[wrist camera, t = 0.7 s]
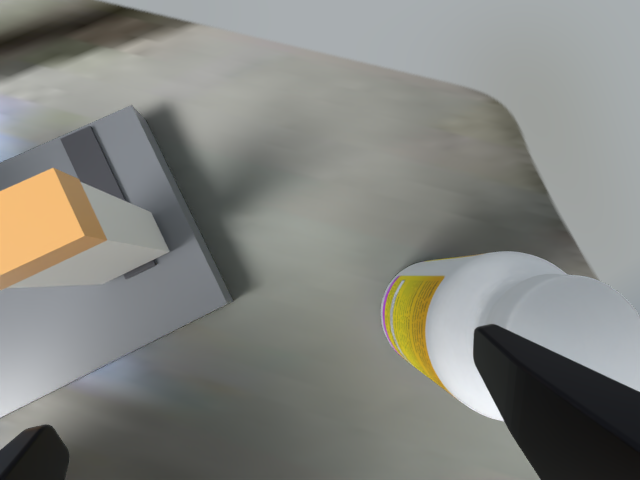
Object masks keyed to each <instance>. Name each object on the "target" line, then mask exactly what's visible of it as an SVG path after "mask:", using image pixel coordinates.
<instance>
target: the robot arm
mask: <svg viewBox="0 0 640 480" xmlns="http://www.w3.org/2000/svg"><path fill="white" fill-rule="evenodd" d="M473 359H474V363H475V366H476V368H477V370H478V372H479V374H480V376H481V377H482V379H483V381H484V383H485V385H486V387H487V389H488V391H489V393H490V395H491V397H492V399H493V401H494V403H495V404H496V406H497V408H498V410H499V412H500V414H501V416H502V418H503V420H504V422H505V424H506V425H507V427H508V429H509V431H510V433H511V434H512V436H513V437H514V439H515V441H516V442H517V444H518V445H519V447H520V448H521V450H522V452H523V453H524V455H525V456H526V458H527V459H528V461H529V462H530V464H531V465H532V467H533V468H534V470H535V471H536V473H537V474H538V476H539V478H540V479H541V480H640V392H639V391H637V390H635V389H633V388H631V387H628V386H626V385H624V384H622V383H620V382H618V381H616V380H613V379H611V378H609V377H607V376H605V375H603V374H601V373H599V372H596V371H594V370H592V369H590V368H588V367H586V366H584V365H581V364H579V363H577V362H575V361H573V360H571V359H569V358H567V357H564V356H562V355H560V354H558V353H556V352H554V351H552V350H549V349H547V348H545V347H543V346H541V345H539V344H537V343H535V342H532V341H530V340H528V339H526V338H524V337H522V336H520V335H517V334H515V333H513V332H511V331H509V330H507V329H505V328H503V327H500V326H498V325H496V324H488V325H483V326H479V327H477V328H475V330H474V340H473ZM68 464H69V452H68V449H67V447H66V446H65V444H64V443H63V441H62V440H61V438H60V437H59V435H58V434H57V432H56V431H55V429H54V428H53V427H52V426H50V425H41V426H36V427H32V428H28V429H26V430H24V431H23V432H21V433H20V434H19V435H18V436H17V437H15V438H14V439H13V440H12V441H11V442H9V443H8V444H7V445H6V446H5V447H4V448H2V449H1V450H0V480H65V476H66V472H67V468H68Z"/></svg>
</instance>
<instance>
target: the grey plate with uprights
mask: <svg viewBox="0 0 640 480" xmlns="http://www.w3.org/2000/svg"><path fill="white" fill-rule="evenodd" d="M51 168H55V169H57V170H60V171H62V172H64V173H66V174H69V175H71V176H73V177H76V178H78V179H79V180H80V182H82V183H85V184H87V185H89V186H92V187H94V188H96V189H99V190H101V191H103V192H105V193H108V194H110V195H112V196H115V197H117V198H119V199H122V200H124V201H126V202H129V203H131V204H133V205H136V206H138V207H140V208H142V209H145V210H147V211H149V212H151V213H152V215H153V217H154V220H155V222H156V224H157V226H158V228H159V230H160V232H161V234H162V236H163V238H164V241H165V243H166V245H167V247H168V249H169V251H170V252H168V253H166V254H164V255H162V256H160V257H158V258H156V259H154V260H152V261H150V262H148V263H146V264H143V265H141V266H139V267H137V268H135V269H133V270H131V271H129V272H127V273H125V274H123V275H121V276H119V277H117V278H114V279H112V280H110V281H108V282H106V283H104V284H98V285H73V286H48V287H22V288H5V289H3V290H0V418H2V417H4V416H6V415H8V414H10V413H12V412H14V411H16V410H18V409H20V408H22V407H24V406H26V405H28V404H30V403H32V402H34V401H36V400H38V399H40V398H42V397H44V396H46V395H48V394H50V393H52V392H54V391H56V390H58V389H60V388H62V387H64V386H66V385H68V384H70V383H72V382H74V381H76V380H78V379H80V378H82V377H84V376H86V375H88V374H90V373H92V372H94V371H96V370H98V369H100V368H102V367H103V366H105V365H107V364H109V363H111V362H113V361H115V360H117V359H119V358H121V357H123V356H125V355H127V354H129V353H131V352H133V351H135V350H137V349H139V348H141V347H143V346H145V345H147V344H149V343H151V342H153V341H155V340H157V339H159V338H161V337H163V336H165V335H167V334H169V333H171V332H173V331H175V330H177V329H179V328H181V327H183V326H185V325H187V324H189V323H191V322H193V321H195V320H197V319H199V318H201V317H203V316H205V315H207V314H209V313H211V312H213V311H215V310H217V309H219V308H221V307H223V306H225V305H227V304H229V303H231V302H233V299H232V297H231V295H230V293H229V291H228V289H227V287H226V285H225V283H224V281H223V279H222V277H221V275H220V273H219V270H218V268H217V266H216V264H215V262H214V260H213V258H212V256H211V254H210V252H209V250H208V248H207V246H206V244H205V241H204V239H203V237H202V235H201V233H200V231H199V229H198V227H197V225H196V223H195V221H194V219H193V217H192V215H191V213H190V210H189V208H188V206H187V204H186V202H185V200H184V198H183V196H182V194H181V192H180V190H179V188H178V186H177V184H176V182H175V179H174V177H173V175H172V173H171V171H170V169H169V167H168V165H167V163H166V161H165V159H164V157H163V155H162V153H161V151H160V148H159V146H158V144H157V142H156V140H155V138H154V136H153V134H152V132H151V130H150V128H149V126H148V124H147V122H146V120H145V118H144V117H143V116H142V115H141V114H140V113H139V112H138V111H137V110H136V109H135V108H134V107H133V106H132V105H131V106H128V107H126V108H124V109H122V110H119V111H117V112H115V113H112V114H110V115H108V116H106V117H103V118H101V119H99V120H96V121H94V122H92V123H90V124H87V125H85V126H83V127H81V128H78V129H76V130H74V131H71V132H69V133H67V134H65V135H62V136H60V137H58V138H56V139H53V140H51V141H49V142H46V143H44V144H42V145H40V146H37V147H35V148H33V149H31V150H28V151H26V152H24V153H21V154H19V155H17V156H15V157H12V158H10V159H8V160H5V161H3V162H1V163H0V191H2V190H4V189H6V188H9V187H11V186H13V185H15V184H18V183H20V182H22V181H24V180H27V179H29V178H31V177H33V176H36V175H38V174H40V173H42V172H45V171H47V170H49V169H51Z"/></svg>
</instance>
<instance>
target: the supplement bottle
mask: <svg viewBox="0 0 640 480" xmlns="http://www.w3.org/2000/svg"><path fill="white" fill-rule="evenodd" d="M381 322H382V327H383V330H384V333H385V336H386V338H387V340H388V341H389V343H390V345H391V346H392V347H393V349H394V350H395V351H396V352H397V353H398V354H399V355H400V356H401V357H402V358H403V359H405V360H406V361H407V362H409V363H410V364H411V365H412V366H414V367H415V368H417V369H418V370H419V371H421V372H422V373H423V374H425V375H426V376H427V377H429V378H430V379H431V380H433V381H434V382H435V383H437V384H438V385H439V386H441V387H442V388H443V389H445V390H446V391H447V392H448V393H450V394H451V395H452V396H454V397H455V398H456V399H457V400H459V401H460V402H462V403H463V404H465V405H466V406H467V407H469V408H470V409H472V410H474V411H476V412H477V413H480V414H482V415H484V416H486V417H489V418H492V419H495V420H500V421H504V420H503V418H502V416H501V414H500V412H499V410H498V408H497V406H496V404H495V403H494V401H493V399H492V397H491V395H490V393H489V391H488V389H487V387H486V385H485V383H484V381H483V379H482V377H481V376H480V374H479V372H478V370H477V368H476V366H475V363H474V359H473V340H474V330H475V328H477V327H479V326H483V325H488V324H496V325H498V326H500V327H503V328H505V329H507V330H509V331H511V332H513V333H515V334H517V335H520V336H522V337H524V338H526V339H528V340H530V341H532V342H535V343H537V344H539V345H541V346H543V347H545V348H547V349H549V350H552V351H554V352H556V353H558V354H560V355H562V356H564V357H567V358H569V359H571V360H573V361H575V362H577V363H579V364H581V365H584V366H586V367H588V368H590V369H592V370H594V371H596V372H599V373H601V374H603V375H605V376H607V377H609V378H611V379H613V380H616V381H618V382H620V383H622V384H624V385H626V386H628V387H631V388H633V389H635V390H637V391H639V392H640V315H639V314H638V313H637V311H636V310H635V308H634V307H633V306H632V304H631V303H630V302H629V301H628V300H627V299H626V298H625V297H624V296H623V295H622V294H621V293H620V292H618V291H617V290H615V289H614V288H612V287H611V286H609V285H607V284H606V283H604V282H601V281H599V280H596V279H593V278H590V277H585V276H579V275H568V274H566V273H565V272H564V271H563V270H561V269H560V268H558V267H557V266H555V265H554V264H552V263H550V262H548V261H547V260H544V259H542V258H539V257H537V256H534V255H531V254H526V253H521V252H513V251H500V252H490V253H484V254H477V255H469V256H461V257H453V258H445V259H436V260H429V261H423V262H419V263H416V264H413V265H410V266H409V267H407V268H405V269H404V270H402V271H401V272H399V273H398V274H397V275H396V276H395V277H394V278H393V280H392V281H391V282H390V284H389V285H388V287H387V289H386V291H385V293H384V296H383V299H382V304H381Z"/></svg>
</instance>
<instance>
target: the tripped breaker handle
mask: <svg viewBox="0 0 640 480" xmlns="http://www.w3.org/2000/svg"><path fill="white" fill-rule="evenodd" d="M168 252H170V251H169V249H168V247H167V245H166V243H165V241H164V238H163V236H162V234H161V232H160V230H159V228H158V226H157V224H156V222H155V220H154V217H153V215H152V213H151V212H149V211H147V210H145V209H142V208H140V207H138V206H136V205H133V204H131V203H129V202H126V201H124V200H122V199H119V198H117V197H115V196H112V195H110V194H108V193H105V192H103V191H101V190H99V189H96V188H94V187H92V186H89V185H87V184H85V183H82V182H80V180H79V179H78V178H76V177H73V176H71V175H69V174H66V173H64V172H62V171H60V170H57V169H55V168H51V169H49V170H47V171H45V172H42V173H40V174H38V175H36V176H33V177H31V178H29V179H27V180H24V181H22V182H20V183H18V184H15V185H13V186H11V187H9V188H6V189H4V190H2V191H0V290H3V289H5V288H22V287H48V286H73V285H98V284H104V283H106V282H108V281H110V280H112V279H114V278H117V277H119V276H121V275H123V274H125V273H127V272H129V271H131V270H133V269H135V268H137V267H139V266H141V265H143V264H146V263H148V262H150V261H152V260H154V259H156V258H158V257H160V256H162V255H164V254H166V253H168Z"/></svg>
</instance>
